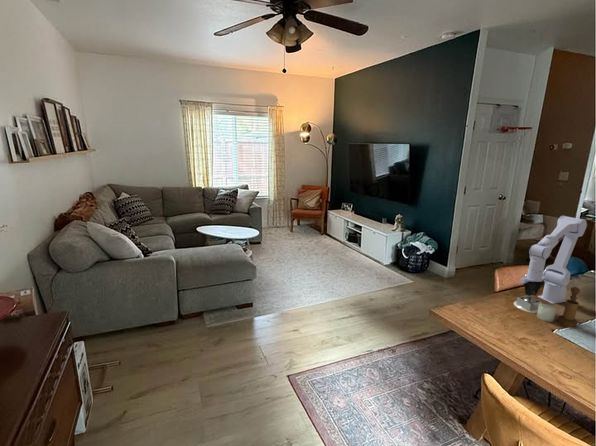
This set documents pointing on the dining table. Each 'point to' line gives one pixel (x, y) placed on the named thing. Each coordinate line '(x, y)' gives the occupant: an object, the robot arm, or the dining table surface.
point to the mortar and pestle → (570, 310)
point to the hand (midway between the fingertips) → (530, 294)
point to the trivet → (524, 309)
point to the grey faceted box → (527, 303)
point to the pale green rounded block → (546, 312)
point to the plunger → (530, 298)
